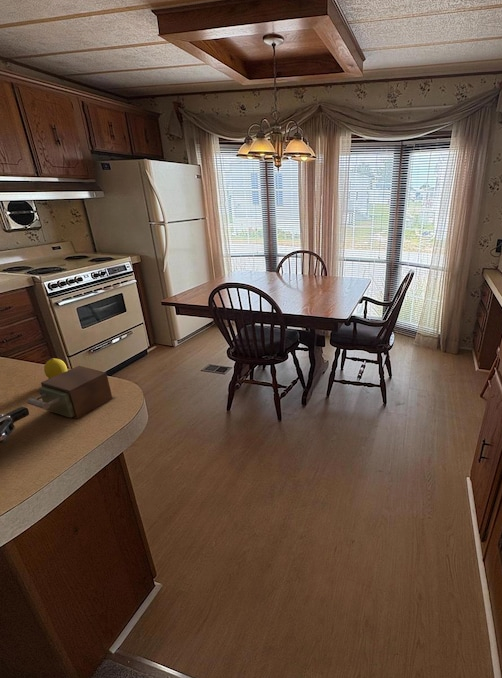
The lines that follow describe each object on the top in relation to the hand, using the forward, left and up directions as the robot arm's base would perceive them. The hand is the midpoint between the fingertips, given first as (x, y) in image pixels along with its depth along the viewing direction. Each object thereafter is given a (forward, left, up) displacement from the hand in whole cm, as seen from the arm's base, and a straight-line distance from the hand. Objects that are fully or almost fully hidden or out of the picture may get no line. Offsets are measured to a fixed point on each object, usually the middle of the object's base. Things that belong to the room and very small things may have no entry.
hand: (26, 410), depth 83 cm
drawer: (+3, +8, -5) cm, 10 cm away
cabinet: (+4, +12, -6) cm, 14 cm away
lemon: (-11, +24, -6) cm, 27 cm away
